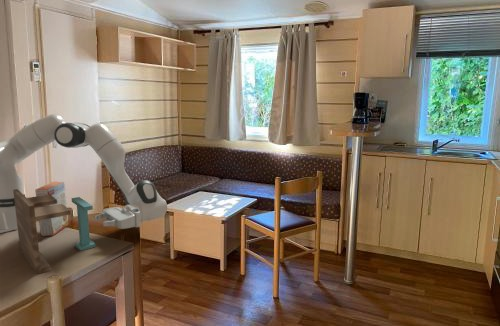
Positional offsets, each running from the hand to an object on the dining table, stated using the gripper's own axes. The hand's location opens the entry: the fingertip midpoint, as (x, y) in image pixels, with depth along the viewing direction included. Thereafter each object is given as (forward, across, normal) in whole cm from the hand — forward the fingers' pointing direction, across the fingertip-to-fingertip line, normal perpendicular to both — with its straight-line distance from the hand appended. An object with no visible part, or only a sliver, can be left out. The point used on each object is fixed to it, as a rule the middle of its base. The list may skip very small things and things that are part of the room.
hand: (98, 221), depth 157 cm
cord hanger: (+6, 0, +9) cm, 11 cm away
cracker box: (+10, -27, +10) cm, 31 cm away
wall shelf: (+20, 0, +9) cm, 22 cm away
